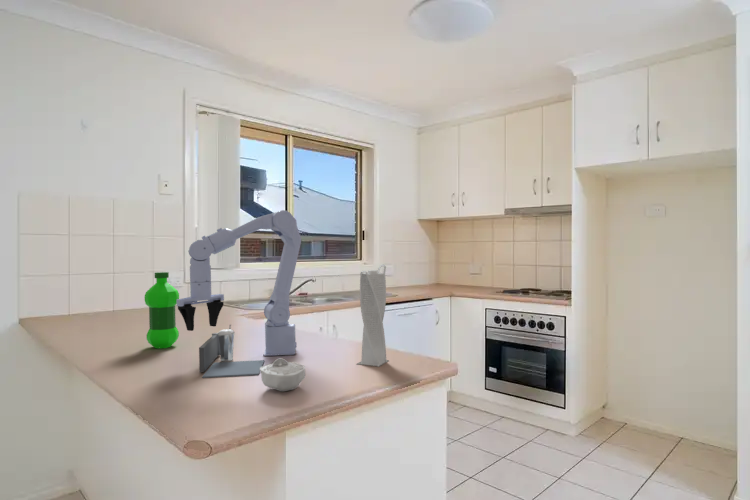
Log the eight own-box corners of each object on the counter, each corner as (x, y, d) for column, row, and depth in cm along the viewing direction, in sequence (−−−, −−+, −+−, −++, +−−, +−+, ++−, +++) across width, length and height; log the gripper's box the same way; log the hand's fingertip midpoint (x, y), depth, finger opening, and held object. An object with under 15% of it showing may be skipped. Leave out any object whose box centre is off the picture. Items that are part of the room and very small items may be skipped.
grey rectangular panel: (221, 354, 141) (220, 332, 141) (206, 371, 121) (206, 346, 121) (213, 354, 140) (212, 332, 140) (197, 372, 121) (196, 347, 121)
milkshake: (238, 357, 137) (237, 324, 137) (231, 362, 132) (230, 327, 132) (223, 357, 138) (223, 324, 138) (216, 362, 133) (215, 327, 132)
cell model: (265, 400, 99) (265, 369, 99) (256, 385, 110) (256, 357, 110) (311, 393, 103) (310, 363, 103) (298, 379, 114) (297, 352, 114)
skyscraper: (393, 362, 131) (392, 264, 130) (382, 369, 123) (380, 265, 123) (367, 359, 134) (365, 263, 134) (354, 366, 127) (352, 265, 127)
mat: (264, 361, 132) (264, 360, 132) (258, 375, 119) (258, 373, 119) (213, 363, 131) (213, 362, 131) (202, 377, 117) (202, 376, 117)
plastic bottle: (157, 343, 160) (156, 271, 160) (185, 343, 159) (184, 271, 158) (139, 349, 150) (137, 273, 150) (168, 350, 149) (167, 273, 148)
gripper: (213, 279, 142) (214, 323, 142) (169, 283, 130) (170, 331, 130) (228, 279, 138) (229, 325, 138) (184, 284, 126) (185, 333, 126)
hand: (201, 328), depth 134 cm, fingers open, 7 cm apart
